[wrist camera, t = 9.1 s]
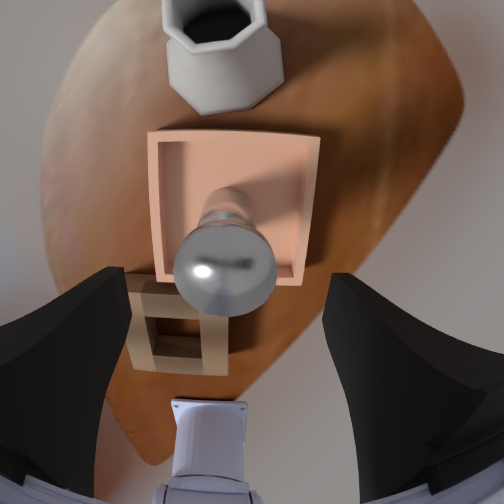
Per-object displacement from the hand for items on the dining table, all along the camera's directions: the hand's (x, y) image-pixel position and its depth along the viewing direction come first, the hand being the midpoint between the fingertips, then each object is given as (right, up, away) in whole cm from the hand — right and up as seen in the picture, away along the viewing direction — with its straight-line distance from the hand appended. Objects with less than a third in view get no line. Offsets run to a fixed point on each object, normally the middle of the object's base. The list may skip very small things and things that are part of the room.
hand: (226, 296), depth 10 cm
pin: (-1, +4, +9) cm, 10 cm away
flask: (-1, +13, +5) cm, 14 cm away
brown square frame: (-5, -4, +13) cm, 15 cm away
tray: (-1, +5, +9) cm, 10 cm away
